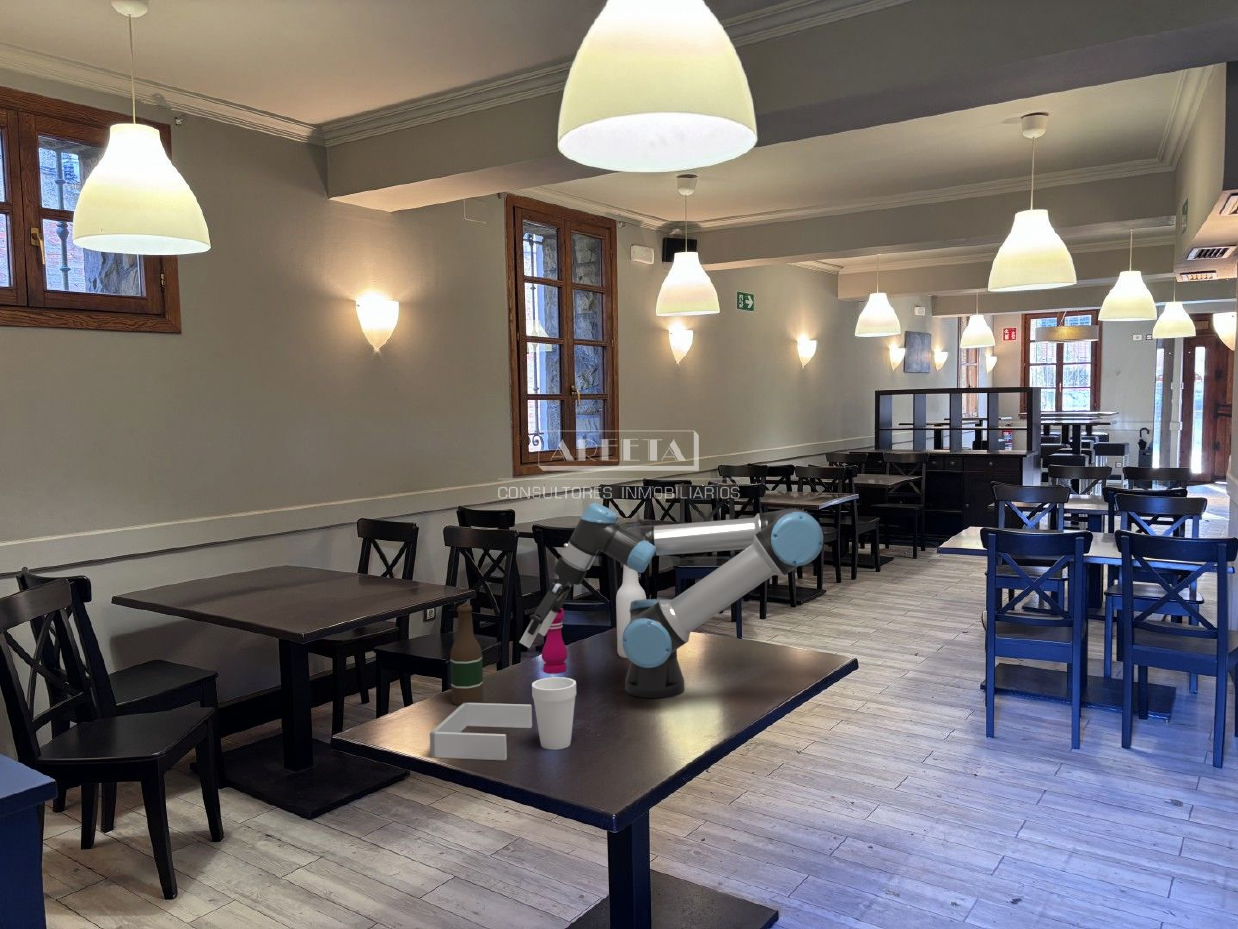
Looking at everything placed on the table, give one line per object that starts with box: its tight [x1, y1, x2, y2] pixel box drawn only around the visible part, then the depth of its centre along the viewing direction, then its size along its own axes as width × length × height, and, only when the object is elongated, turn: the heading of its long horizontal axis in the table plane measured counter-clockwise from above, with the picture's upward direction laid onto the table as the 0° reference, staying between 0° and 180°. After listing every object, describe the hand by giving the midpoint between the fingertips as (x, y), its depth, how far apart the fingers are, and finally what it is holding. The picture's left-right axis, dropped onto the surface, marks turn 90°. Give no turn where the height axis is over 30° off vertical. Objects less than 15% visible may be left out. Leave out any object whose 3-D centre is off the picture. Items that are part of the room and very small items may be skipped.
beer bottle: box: [449, 604, 484, 707], centre depth 212 cm, size 8×8×24 cm
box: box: [429, 702, 533, 761], centre depth 185 cm, size 16×20×5 cm
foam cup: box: [531, 676, 577, 751], centre depth 182 cm, size 10×9×13 cm
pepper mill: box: [541, 607, 568, 674], centre depth 238 cm, size 7×7×20 cm
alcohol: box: [615, 564, 647, 659], centre depth 252 cm, size 9×9×30 cm
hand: (532, 639), depth 208 cm, fingers open, 13 cm apart
